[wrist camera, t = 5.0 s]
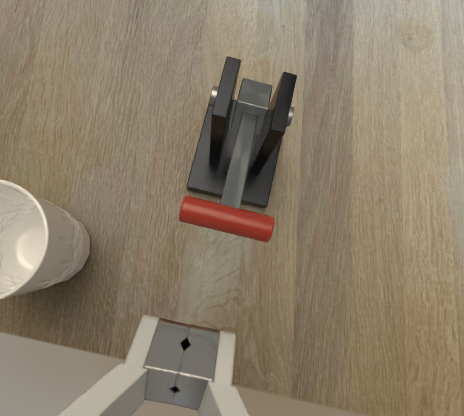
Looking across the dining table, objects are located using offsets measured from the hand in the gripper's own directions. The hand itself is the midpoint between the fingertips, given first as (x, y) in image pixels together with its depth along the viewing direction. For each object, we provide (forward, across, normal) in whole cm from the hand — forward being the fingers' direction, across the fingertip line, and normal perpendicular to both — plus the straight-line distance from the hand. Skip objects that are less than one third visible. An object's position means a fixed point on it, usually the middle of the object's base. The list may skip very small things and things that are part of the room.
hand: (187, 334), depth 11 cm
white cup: (+15, +14, +14) cm, 25 cm away
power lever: (+13, -1, 0) cm, 13 cm away
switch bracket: (+24, -1, +5) cm, 25 cm away
